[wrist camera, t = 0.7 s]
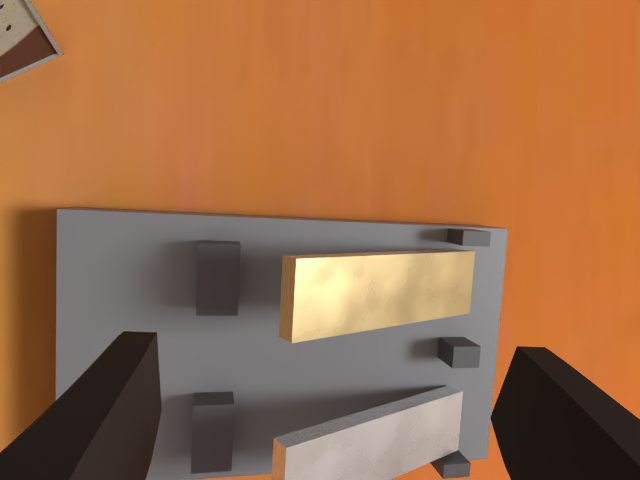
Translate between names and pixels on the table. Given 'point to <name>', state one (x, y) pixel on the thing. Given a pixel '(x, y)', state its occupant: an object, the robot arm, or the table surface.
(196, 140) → the table surface
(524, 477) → the robot arm
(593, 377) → the table surface
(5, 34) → the food container
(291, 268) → the bar
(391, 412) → the bar
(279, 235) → the mounting plate
